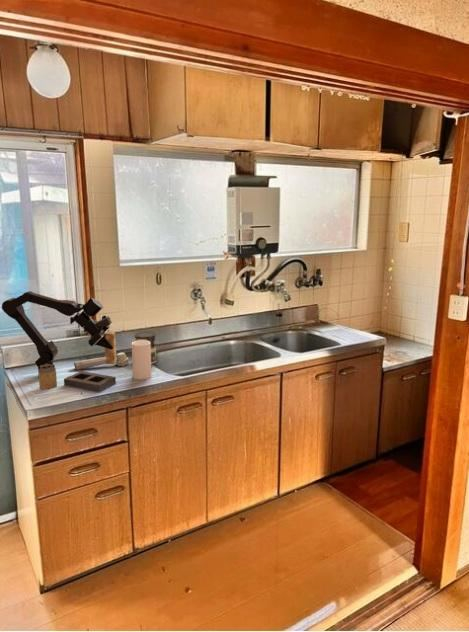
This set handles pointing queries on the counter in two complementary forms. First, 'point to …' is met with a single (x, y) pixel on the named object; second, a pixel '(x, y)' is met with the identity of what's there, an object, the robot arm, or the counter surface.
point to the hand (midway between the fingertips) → (113, 347)
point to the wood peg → (110, 354)
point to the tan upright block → (47, 377)
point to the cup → (141, 359)
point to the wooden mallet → (101, 362)
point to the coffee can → (150, 337)
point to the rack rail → (90, 381)
